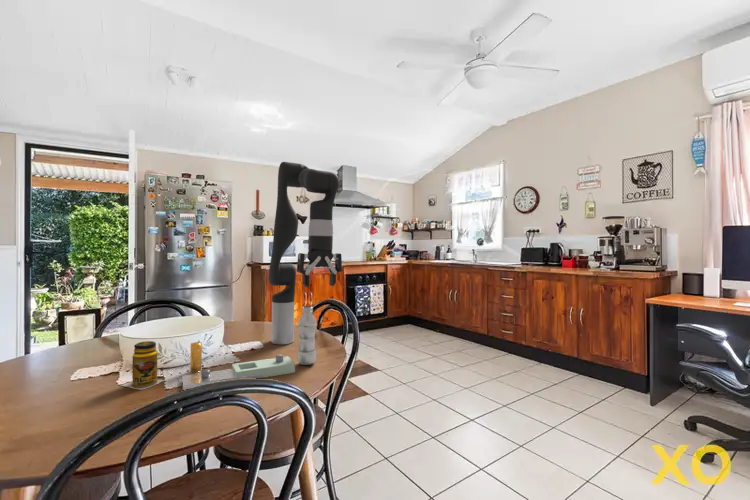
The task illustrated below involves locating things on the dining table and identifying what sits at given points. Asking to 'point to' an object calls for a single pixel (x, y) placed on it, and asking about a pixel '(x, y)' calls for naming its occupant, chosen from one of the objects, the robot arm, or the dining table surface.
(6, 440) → the dining table surface
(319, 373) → the dining table surface
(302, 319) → the plastic bottle
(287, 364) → the block
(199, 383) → the lower chain end
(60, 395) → the dining table surface
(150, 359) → the condiment
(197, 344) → the pin
